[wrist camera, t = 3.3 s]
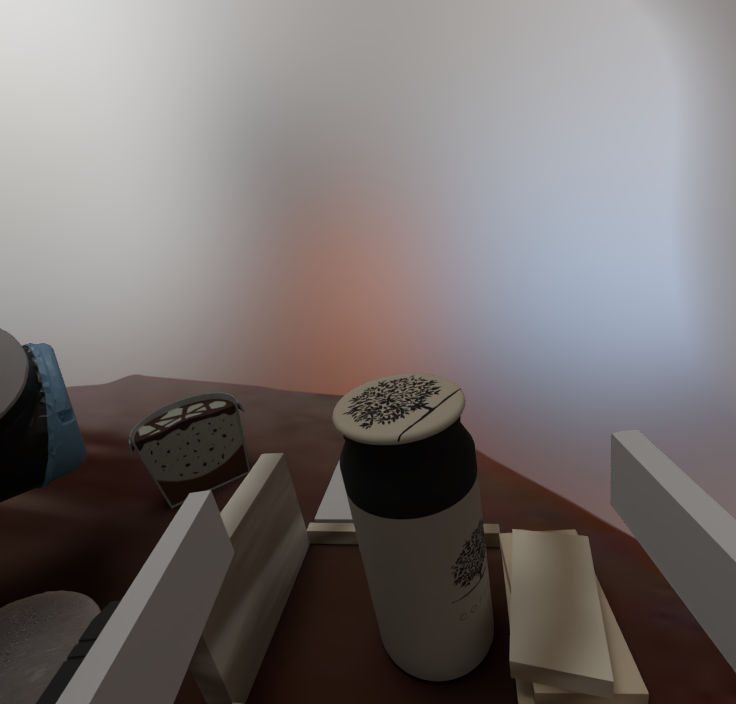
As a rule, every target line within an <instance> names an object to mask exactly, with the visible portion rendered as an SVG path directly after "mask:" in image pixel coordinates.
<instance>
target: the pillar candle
mask: <svg viewBox="0 0 736 704" xmlns="http://www.w3.org/2000/svg"><path fill="white" fill-rule="evenodd" d="M100 612H101V610H100V608H99V607H98V605H97V604H96V603H95V602H94V601H93V600H92V599H91V598H90V597H88V596H86V595H84V594H81V593H77V592H72V591H70V592H69V591H56V592H54V591H48V592H45V593H42V594H36V595H33V596H31V597H27V598H24V599H21V600H17V601H15V602H13V603H9V604H7V605H5V606H4V607H2V608H0V704H36V702H37V701H38V699H39V698H40V696H41V695H42V694H43V692H44V691H45V689H46V688H47V686H48V685H49V683H50V682H51V680H52V679H53V677H54V676H55V674H56V673H57V671H58V670H59V668H60V667H61V665H62V664H63V662H65V661H67V657H68V655H69V654H70V652H71V651H72V649H73V648H74V646H75V645H76V644H78V643H79V639H80V637H81V636H82V634H83V633H84V631H85V630H86V628H87V627H88V625H89V624H90V623H91V621H92V620H93V619H94V618H95V617H96V616H97V615H98V614H99V613H100Z"/></svg>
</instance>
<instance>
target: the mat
mask: <svg viewBox="0 0 736 704" xmlns="http://www.w3.org/2000/svg"><path fill="white" fill-rule="evenodd" d="M315 523H353V519H352V515H351V511H350V507H349V503H348V498H347V494H346V490H345V486H344V482H343V478H342V474H341V470H340V460H339V462H338V465H337V467H336V469H335V472H334V474H333V476H332V479H331V481H330V484H329V486H328V488H327V491H326V493H325V495H324V498H323V500H322V503H321V505H320V507H319V510H318V512H317V514H316V517H315Z"/></svg>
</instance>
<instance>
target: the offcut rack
mask: <svg viewBox="0 0 736 704" xmlns="http://www.w3.org/2000/svg"><path fill="white" fill-rule="evenodd" d="M220 515H221V518H222V520H223V523H224V526H225V528H226V531H227V533H228V536H229V539H230V541H231V544H232V547H233V549H234V552H235V553H234V555H233V558H232V560H231V563H230V565H229V568H228V570H227V573H226V575H225V577H224V580H223V582H222V585H221V587H220V590H219V592H218V595H217V597H216V600H215V602H214V605H213V607H212V609H211V612H210V614H209V617H208V619H207V622H206V624H205V627H204V629H203V632H202V634H201V637H200V639H199V641H198V644H197V646H196V649H195V651H194V654H193V656H192V659H191V661H190V664H189V668H190V670H191V672H192V674H193V676H194V678H195V680H196V682H197V684H198V686H199V688H200V690H201V692H202V695H203V697H204V699H205V701H206V703H207V704H245V703H246V701H247V698H248V696H249V693H250V691H251V688H252V686H253V683H254V681H255V679H256V676H257V674H258V671H259V669H260V666H261V664H262V661H263V659H264V656H265V654H266V651H267V649H268V646H269V644H270V641H271V639H272V637H273V634H274V632H275V629H276V627H277V624H278V622H279V619H280V617H281V614H282V612H283V609H284V607H285V604H286V602H287V600H288V597H289V595H290V592H291V590H292V587H293V585H294V582H295V580H296V577H297V575H298V572H299V570H300V567H301V565H302V562H303V560H304V558H305V555H306V553H307V550H308V548H309V545H310V544H358V539H357V535H356V531H355V527H354V523H310V524H309V526H308V529H307V531H306V528H305V524H304V521H303V517H302V514H301V511H300V507H299V504H298V500H297V497H296V494H295V490H294V487H293V483H292V480H291V477H290V473H289V470H288V466H287V463H286V460H285V456H284V453H274V454H262V455H261V456H260V458H259V459H258V461H257V462H256V464H255V465H254V466H253V468H252V469H251V471H250V472H249V473H248V475H247V476H246V478H245V479H244V481H243V482H242V483H241V485H240V486H239V488H238V489H237V490H236V492H235V493H234V495H233V496H232V498H231V499H230V500H229V502H228V503H227V505H226V506H225V507H224V509H223V510H222V512H221V513H220ZM483 527H484V536H485V546H486V547H500V548H501V553H502V560H503V569H504V579H505V588H506V597H507V606H508V615H509V624H510V657H509V662H510V672H511V678H515V680H516V689H517V698H518V704H648V698H649V693H648V691H647V689H646V686H645V684H644V682H643V680H642V677H641V675H640V673H639V671H638V669H637V666H636V664H635V662H634V660H633V657H632V655H631V653H630V651H629V648H628V646H627V644H626V642H625V640H624V637H623V635H622V633H621V631H620V628H619V626H618V624H617V622H616V619H615V617H614V615H613V613H612V610H611V608H610V606H609V604H608V602H607V599H606V597H605V595H604V593H603V590H602V588H601V586H600V584H599V581H598V579H597V577H596V575H595V572H594V567H593V562H592V556H591V551H590V545H589V539H588V536H578V535H577V532H576V530H558V531H539V532H537V531H527V530H516V529H513V531H512V533H502V534H500V531H499V524H483Z"/></svg>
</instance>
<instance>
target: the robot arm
mask: <svg viewBox="0 0 736 704" xmlns="http://www.w3.org/2000/svg"><path fill="white" fill-rule="evenodd" d="M85 457H86V448H85V445H84V442H83V439H82V435H81V432H80V429H79V426H78V423H77V420H76V417H75V414H74V411H73V408H72V405H71V402H70V399H69V396H68V393H67V390H66V387H65V384H64V381H63V378H62V374H61V372H60V369H59V365H58V363H57V359H56V357H55V353H54V350H53V348H52V347H51V346H50V345H48V344H45V343H41V344H31V343H29V344H25V345H23V346H21V345H20V343H19V342H18V341H17V340H16V339H15V338H14V337H13V336H12V335H11V334H9V333H8V332H6V331H4V330H2V329H0V502H3V501H5V500H7V499H10V498H12V497H15V496H17V495H20V494H22V493H25V492H27V491H30V490H32V489H35V488H43V487H45V486H47V485H48V484H49V483H50V482H51V481H53V480H55V479H57V478H59V477H62V476H64V475H66V474H68V473H70V472H72V471H74V470H76V469H77V468H79V467H80V466H81V465H82V463H83V462H84V460H85ZM611 505H612V506H613V508H614V509H615V511H616V512H617V513H618V514H619V516H620V517H621V518H622V520H623V521H624V523H625V524H626V525H627V527H628V528H629V529H630V531H631V532H632V533H633V535H634V536H635V537H636V539H637V540H638V542H639V543H640V544H641V546H642V547H643V548H644V550H645V551H646V552H647V554H648V555H649V556H650V558H651V559H652V560H653V562H654V563H655V564H656V566H657V567H658V568H659V570H660V571H661V573H662V574H663V575H664V577H665V578H666V579H667V581H668V582H669V583H670V585H671V586H672V587H673V589H674V590H675V591H676V593H677V594H678V595H679V597H680V598H681V599H682V601H683V602H684V604H685V605H686V606H687V608H688V609H689V610H690V612H691V613H692V614H693V616H694V617H695V618H696V620H697V621H698V622H699V624H700V625H701V626H702V628H703V629H704V630H705V632H706V633H707V634H708V636H709V637H710V639H711V640H712V641H713V643H714V644H715V645H716V647H717V648H718V649H719V651H720V652H721V653H722V655H723V656H724V657H725V659H726V660H727V661H728V663H729V664H730V665H731V667H732V668H733V670H734V671H735V672H736V520H735V519H734V518H733V517H732V516H731V515H729V514H728V513H727V512H726V511H725V510H724V509H723V508H722V507H721V506H720V505H719V504H717V503H716V502H715V501H714V500H713V499H712V498H711V497H710V496H709V495H708V494H707V493H706V492H704V491H703V490H702V489H701V488H700V487H699V486H698V485H697V484H696V483H695V482H694V481H693V480H691V479H690V478H689V477H688V476H687V475H686V474H685V473H684V472H683V471H682V470H680V469H679V468H678V467H677V466H676V465H675V464H674V463H673V462H672V461H671V460H670V459H669V458H667V457H666V456H665V455H664V454H663V453H662V452H661V451H660V450H659V449H658V448H657V447H655V446H654V445H653V444H652V443H651V442H650V441H649V440H648V439H647V438H646V437H645V436H644V435H642V434H641V433H640V432H639V431H638V430H637V429H635V430H629V431H621V432H615V433H611ZM234 553H235V552H234V549H233V547H232V544H231V541H230V539H229V536H228V533H227V531H226V528H225V526H224V523H223V520H222V518H221V515H220V512H219V510H218V507H217V504H216V502H215V499H214V497H213V494H212V491H211V490H208V491H201V492H194V493H189V495H188V497H187V498H186V500H185V501H184V503H183V504H182V506H181V508H180V509H179V511H178V512H177V514H176V515H175V517H174V519H173V520H172V522H171V523H170V525H169V526H168V528H167V530H166V531H165V533H164V534H163V536H162V537H161V539H160V541H159V542H158V544H157V545H156V547H155V548H154V550H153V552H152V553H151V555H150V556H149V558H148V559H147V561H146V563H145V564H144V566H143V567H142V569H141V570H140V572H139V574H138V575H137V577H136V578H135V580H134V581H133V583H132V585H131V586H130V588H129V589H128V591H127V592H126V594H125V596H124V597H123V599H122V600H120V601H112V602H110V603H109V604H108V605H107V606H106V607H105V608H104V609H103V610H102V611H101V612H100V613H99V614H98V615H97V616H96V617H95V618H94V619H93V620H92V621H91V623H90V624H89V625H88V627H87V628H86V630H85V631H84V633H83V634H82V636H81V637H80V639H79V643H78V644H76V645H75V646H74V648H73V649H72V651H71V652H70V654H69V655H68V657H67V661H65V662H63V664H62V665H61V667H60V668H59V670H58V671H57V673H56V674H55V676H54V677H53V679H52V680H51V682H50V683H49V685H48V686H47V688H46V689H45V691H44V692H43V694H42V695H41V696H40V698H39V699H38V701H37V702H36V704H173V703H174V701H175V698H176V696H177V693H178V691H179V688H180V686H181V683H182V681H183V678H184V676H185V673H186V671H187V669H188V666H189V664H190V661H191V659H192V656H193V654H194V651H195V649H196V646H197V644H198V641H199V639H200V637H201V634H202V632H203V629H204V627H205V624H206V622H207V619H208V617H209V614H210V612H211V609H212V607H213V605H214V602H215V600H216V597H217V595H218V592H219V590H220V587H221V585H222V582H223V580H224V577H225V575H226V573H227V570H228V568H229V565H230V563H231V560H232V558H233V555H234Z"/></svg>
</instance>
